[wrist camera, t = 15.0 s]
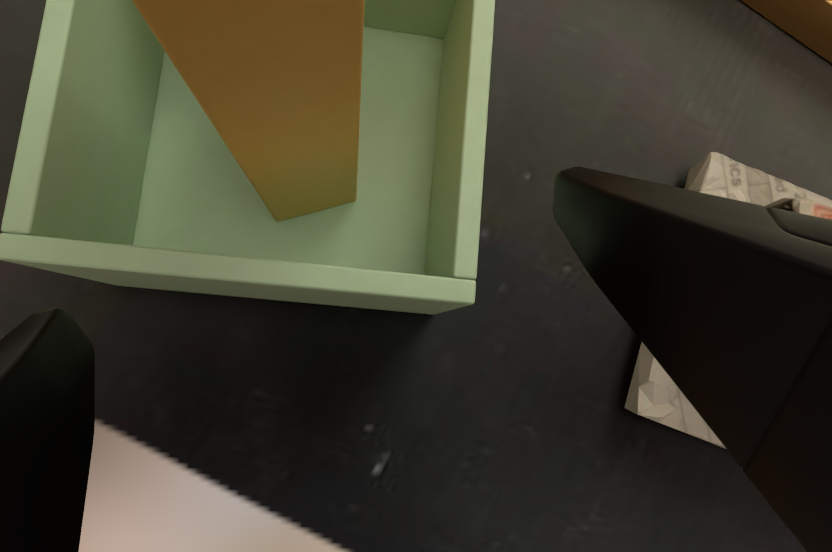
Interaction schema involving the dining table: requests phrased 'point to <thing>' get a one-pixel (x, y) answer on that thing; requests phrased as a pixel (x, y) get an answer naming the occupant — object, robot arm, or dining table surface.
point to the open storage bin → (227, 183)
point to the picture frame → (801, 21)
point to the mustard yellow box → (275, 89)
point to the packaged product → (735, 181)
